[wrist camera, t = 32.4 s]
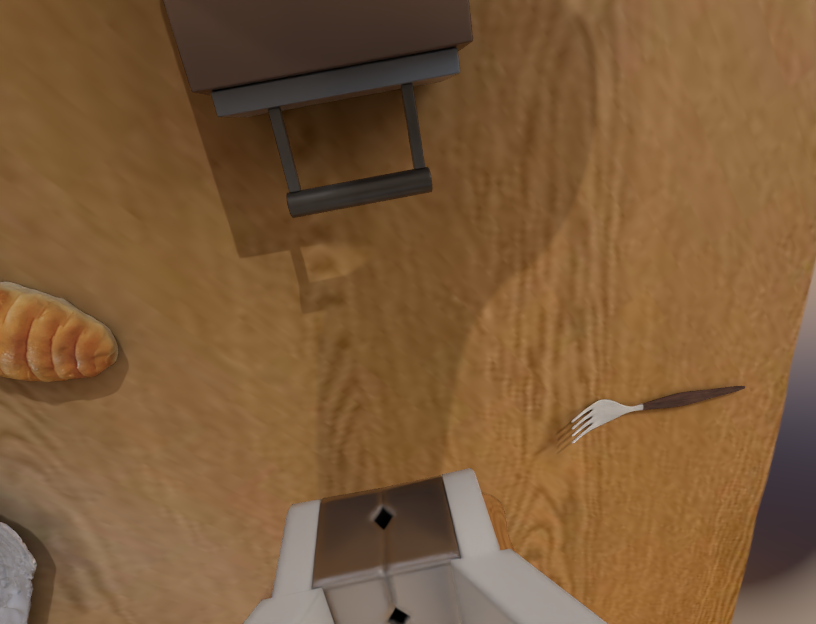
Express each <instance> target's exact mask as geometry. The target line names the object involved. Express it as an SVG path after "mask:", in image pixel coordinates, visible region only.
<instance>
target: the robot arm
mask: <svg viewBox="0 0 816 624" xmlns="http://www.w3.org/2000/svg"><path fill="white" fill-rule="evenodd" d="M243 624H608V623H606V622H605V621H604V620H602V619H601V618H600V617H598V616H597V615H596V614H595V613H593V612H592V611H591V610H589V609H588V608H587V607H585V606H584V605H583V604H582V603H580V602H579V601H578V600H576V599H575V598H574V597H573V596H571V595H570V594H569V593H567V592H566V591H565V590H563V589H562V588H561V587H560V586H558V585H557V584H556V583H554V582H553V581H552V580H551V579H549V578H548V577H547V576H545V575H544V574H543V573H541V572H540V571H539V570H538V569H536V568H535V567H534V566H532V565H531V564H530V563H529V562H527V561H526V560H525V559H523V558H522V557H521V556H519V555H518V554H517V553H516V552H514V551H513V550H512V549H505V550H500V548H499V544H498V541H497V538H496V535H495V532H494V529H493V526H492V523H491V520H490V517H489V514H488V511H487V508H486V505H485V502H484V499H483V496H482V493H481V490H480V487H479V484H478V481H477V478H476V475H475V472H474V471H473V470H472V469H471V468H469V469H464V470H460V471H455V472H451V473H446V474H442V477H441V475H439V476H435V477H430V478H425V479H420V480H416V481H411V482H406V483H401V484H397V485H392V486H387V487H383V488H378V489H372V490H366V491H361V492H355V493H350V494H344V495H338V496H333V497H327V498H323V499H320V500H314V501H308V502H303V503H297V504H292V505H291V507H290V509H289V510H288V512H287V516H286V522H285V527H284V533H283V538H282V544H281V549H280V554H279V560H278V565H277V571H276V576H275V581H274V587H273V592H272V598H269V599H264V600H261V601H260V602H259V604H258V605H257V606H256V608H255V609H254V610H253V611H252V613H251V614H250V615H249V616H248V618H247V619H246V620H245V621H244V623H243Z"/></svg>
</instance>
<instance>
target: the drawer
mask: <svg viewBox="0 0 816 624" xmlns="http://www.w3.org/2000/svg"><path fill="white" fill-rule="evenodd" d="M459 73H460V66H459V57H458V49H457V47H453V48H447V49H442V50H436V51H431V52H425V53H420V54H414V55H409V56H403V57H398V58H392V59H387V60H381V61H376V62H370V63H365V64H359V65H354V66H348V67H343V68H337V69H331V70H326V71H320V72H315V73H309V74H304V75H298V76H293V77H287V78H282V79H276V80H271V81H265V82H260V83H254V84H249V85H243V86H238V87H232V88H227V89H221V90H216V91H212V92H211V96H212V99H213V103H214V106H215V109H216V112H217V116H218V117H250V116H255V115H261V114H266V113H269V116H270V120H271V123H272V127H273V131H274V135H275V139H276V143H277V146H278V150H279V154H280V158H281V162H282V165H283V169H284V173H285V177H286V181H287V185H288V188H289V193H287V203H288V208H289V211H290V214H291V216H292V217H293V218H296V217H301V216H306V215H312V214H317V213H322V212H328V211H333V210H338V209H344V208H349V207H354V206H360V205H365V204H370V203H376V202H381V201H386V200H391V199H397V198H402V197H407V196H413V195H418V194H423V193H429V192H432V180H431V174H430V170H429V168H428V167H425V163H424V156H423V149H422V143H421V136H420V129H419V123H418V116H417V109H416V103H415V96H414V89H413V87H414V86H419V85H425V84H430V83H436V82H441V81H443V80H445V79H448V78H450V77H452V76H454V75H456V74H459ZM397 89H401V92H402V98H403V104H404V111H405V117H406V123H407V130H408V136H409V142H410V149H411V155H412V161H413V168H414V169H412V170H407V171H401V172H396V173H390V174H385V175H380V176H374V177H369V178H364V179H358V180H353V181H348V182H342V183H337V184H332V185H326V186H321V187H316V188H310V189H305V190H301V186H300V182H299V178H298V174H297V170H296V166H295V162H294V158H293V154H292V150H291V146H290V142H289V138H288V135H287V131H286V127H285V123H284V119H283V115H282V110H288V109H293V108H299V107H304V106H310V105H315V104H321V103H326V102H332V101H337V100H343V99H348V98H354V97H359V96H365V95H370V94H375V93H381V92H386V91H392V90H397Z"/></svg>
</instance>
